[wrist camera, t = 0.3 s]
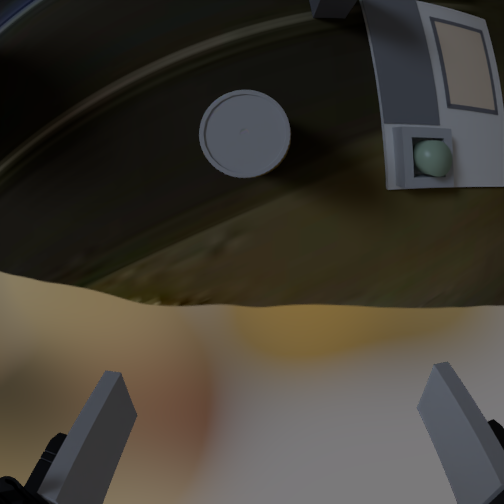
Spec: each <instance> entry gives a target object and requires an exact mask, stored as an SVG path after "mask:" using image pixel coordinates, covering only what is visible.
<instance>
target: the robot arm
mask: <svg viewBox="0 0 504 504" xmlns="http://www.w3.org/2000/svg"><path fill="white" fill-rule="evenodd" d="M417 409H418V411H419V413H420V416H421V418H422V420H423V422H424V424H425V426H426V429H427V431H428V433H429V435H430V437H431V440H432V442H433V444H434V447H435V449H436V451H437V454H438V456H439V458H440V460H441V463H442V465H443V468H444V470H445V473H446V475H447V477H448V480H449V482H450V485H451V488H452V490H453V493H454V495H455V498H456V501H457V504H504V428H503V427H502V426H501V425H500V424H499V423H497V422H496V421H495V420H494V419H493V420H490V421H488V422H487V421H486V419H485V417H484V416H483V414H482V413H481V411H480V409H479V408H478V406H477V405H476V403H475V401H474V400H473V398H472V397H471V395H470V394H469V392H468V391H467V389H466V388H465V386H464V385H463V383H462V382H461V380H460V379H459V377H458V376H457V374H456V373H455V371H454V370H453V368H452V367H451V365H450V364H449V363H448V362H443V363H439V364H434V366H433V368H432V371H431V374H430V376H429V379H428V382H427V385H426V387H425V390H424V392H423V394H422V397H421V399H420V402H419V404H418V406H417ZM136 417H137V413H136V411H135V408H134V406H133V404H132V401H131V398H130V396H129V393H128V391H127V388H126V385H125V382H124V380H123V377H122V374H121V373H120V372H112V371H105V373H104V374H103V376H102V377H101V379H100V381H99V382H98V384H97V386H96V387H95V389H94V391H93V392H92V394H91V396H90V397H89V399H88V401H87V402H86V404H85V406H84V407H83V409H82V411H81V412H80V414H79V416H78V418H77V419H76V421H75V423H74V425H73V426H72V428H71V430H70V432H69V433H68V435H66V434H63V433H58V434H57V435H56V436H55V437H54V438H52V439H51V440H50V442H49V444H48V445H47V447H46V449H45V452H43V454H42V456H41V459H39V461H38V463H37V464H36V466H35V468H34V470H33V472H32V473H31V475H30V477H29V479H28V481H27V483H26V484H25V486H24V487H23V486H22V485H21V484H20V483H19V482H18V481H17V480H16V479H15V478H13V477H10V476H4V477H1V478H0V504H103V501H104V498H105V496H106V493H107V490H108V488H109V485H110V483H111V480H112V477H113V474H114V472H115V469H116V467H117V464H118V462H119V459H120V457H121V454H122V452H123V449H124V447H125V444H126V442H127V439H128V437H129V434H130V432H131V430H132V427H133V425H134V422H135V420H136Z"/></svg>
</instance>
